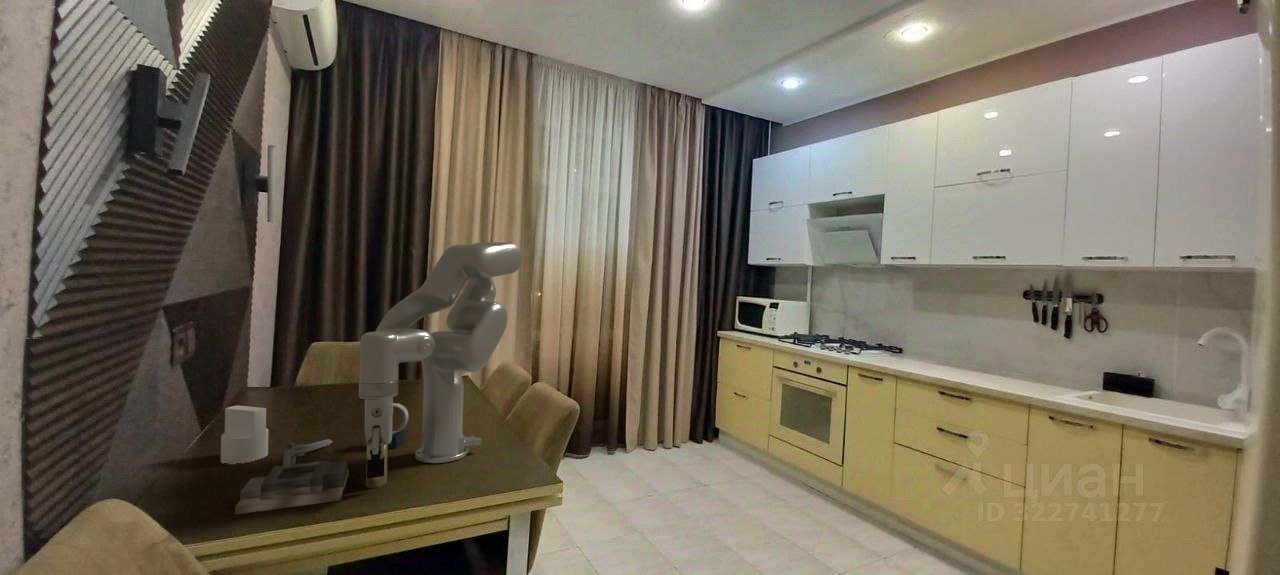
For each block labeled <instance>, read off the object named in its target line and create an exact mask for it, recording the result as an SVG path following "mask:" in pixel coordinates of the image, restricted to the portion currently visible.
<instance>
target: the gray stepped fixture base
mask: <svg viewBox="0 0 1280 575" xmlns="http://www.w3.org/2000/svg"><path fill="white" fill-rule="evenodd" d="M349 472H350V471H349V469H348V460H342V461H335V462H331V461H330V460H321V461H311V462H310V461H309V462H303V463H302V462H301V463H295V464H291V465H275V466H274V465H273V467H272V469H271V470H270V471H269V472H268V474H267V476H261V477H252V478H250V479H249V481H248V482H247V483H246V484H245V485H244V487H243V489H241V491H240V499H239V501H238V502H237V504H235V506H234V516H235V515H243V514H249V513H258V512H264V511H265V512H266V511H272V510H279V509H287V508H294V507H302V506H307V505H309V506H310V505H316V504H317V505H318V504H322V503H329V502H338V501H341V500H342V497H343V494H344V492H343V491H345V488H346V485H347V481H348V479H347V478H349ZM257 511H258V512H257Z"/></svg>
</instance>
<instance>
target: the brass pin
mask: <svg viewBox="0 0 1280 575" xmlns="http://www.w3.org/2000/svg"><path fill="white" fill-rule="evenodd" d="M379 443H382V440H381V441H379ZM371 444H372V443H371ZM379 448H380V449H381V446H379ZM380 454H381V453H380ZM368 457H369V446H367V445H366V460H367V459H368ZM383 457H385V466H384V476H383V477H375V478H367V463H366V465H365V466H366V468H365V469H366V470H365V476H366V477H365V487H366V488H367V487H368V488H367V489H377V488H376V487H379V488H381V486H382V487H384V486H386V485H387V484H386V483H388V443H384V453H383ZM385 484H386V485H385ZM383 485H384V486H383Z"/></svg>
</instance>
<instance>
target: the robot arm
mask: <svg viewBox="0 0 1280 575" xmlns="http://www.w3.org/2000/svg"><path fill="white" fill-rule="evenodd" d="M523 260H524V255H523V251H522V249H521V247H519V246H518V244H515V243H513V242H500V241H499V242H493V241H491V242H490V241H488V242H487V241H486V242H485V241H483V242H476V243H473V244H454V245H451V246H449V247H447V248H446V249H445V250H444V251H443V253H442V255H441V256H440V257H439V259H438V261H436V264H435V266H434V267H433V269H432V270H431V271H430V273H429V275H428V277H426V279H425V281H424V282H423V284H422V285H421V287H420V288H418V289H416V290H415V291H413V292H411V293H410V294H408V295H407V296H406V297H404V298H403V299H401V300H400V301H399V302H397V303H396V304H395V305H393V306H392V307H391V308H390V309H389V310H388V311H387V313H386V314H385V316H384V317H383V318H382V319H381V321H380V323H379V324H378V326H377V328H376V329H375V331H369V332H366V333H364V334H362V335H361V337H360V344H359V376H358V377H359V379H358V398H360V399H363V400H364V439H365V446H366V447H367V446H369V457H368V459H367V458H366V464H367V478H375V477H383V476H384V466H385V457H383V453H384V443H388V444H390V443H391V441H392V430H394V429H393V426H394V425H393V424H394V422H393V420H394V407H393V403H394V397H396V396H398V395H399V366H400V363H417V362H421V366H422V374H423V394H422V396H423V398H422V402H423V403H422V433H421V435H422V436H421V447H419V448H418V449H416V450H415V452H414V458H415V459H416V460H417V461H419V462H421V463H427V464H442V463H443V464H444V463H449V462H455V461H457V460H460V459H462V458H464V457H466V455H468V453H469V446H470V447H471V446H481V445H482V438H481V437H476V436H475V435H473V436H471V435H470V436H465V435H464V431H463V419H464V418H463V417H464V413H463V412H464V390H465V388H464V381H463V380H464V379H463V377H462V375H461V372H464V373H475V372H479V371H481V370H483V368H485V366H486V365H487V364H488V362H489V360H490V359H491V357H492V355H493V353H494V352H495V350H496V348H497V346H498V344H499V343H500V341H501V339H502V337H503V336H504V333H505V331H506V328H507V325H508V313H507V312H508V311H507V309H506V307H505V306H504V305H503V304H502V303H500V302H498V301H495V299H496V297H497V287H496V285H495V282H494V281H493V278H495V277H500V276H505V275H509V274H510V275H511V274H513V273H515V272H517V271H518V270H519V269H520V268H521V266H522V263H523ZM465 284H466V285H465ZM463 287H464V289H463ZM462 289H463V291H462ZM461 291H462V292H461ZM450 307H451V308H450ZM448 308H450V310H449V312H448V314H447V317H446V326H447V327H448V329H449V330H448V331H447V330H438V331H434V332H431V333H430V332H428V331H427V330H424V329H419V328H411V327H412V326H413V325H414V324H415V323H416V322H418V321H419V320H420V319H423V318H425V317H426V316H429V315H432V314H436V313H438V312H441V311H443V310H445V309H448ZM381 440H382V443H379V441H381ZM371 443H372V444H371ZM379 446H381V449H380V448H379ZM380 453H381V454H380Z"/></svg>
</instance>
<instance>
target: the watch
mask: <svg viewBox="0 0 1280 575" xmlns="http://www.w3.org/2000/svg"><path fill="white" fill-rule="evenodd" d="M393 408H397V409H399V410H400V411H401V412H402V413H403V420H402V422H401V424H400V426H399V427H398V429H397V430H396V429H395V430H394V429H392V441H391V443H390V444H388V448H395V449H394V450H396V449H397V448H398V446H399V447H400V446H401V445H402V444H403V443H405V432H406V431H405V430H404V429H405V427H406V425H407V424H408V422H409V419H410V417H409V416H410V415H409V411H408V409H407V408H406V407H405V406H404V405H403V404H401V403H398V402H397V403H396V402H393Z"/></svg>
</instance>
